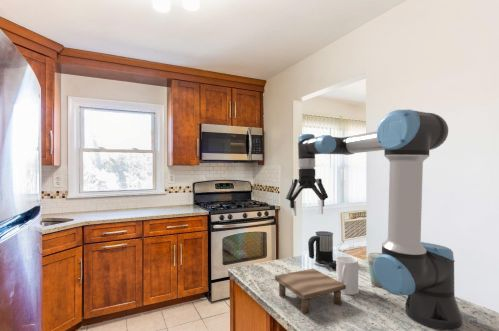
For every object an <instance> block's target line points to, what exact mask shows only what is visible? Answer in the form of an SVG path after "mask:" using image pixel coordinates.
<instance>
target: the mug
mask: <svg viewBox="0 0 499 331" xmlns="http://www.w3.org/2000/svg"><path fill="white" fill-rule="evenodd" d="M335 263H336V268H335V269H336V270H335V271H336V280H337V281H339V282H341V283H343V284H345V285H346V289H344V290H341V294H344V295H347V296H354V295H357V294H359V293H360V289H359V261H358V259H357V258H355V257H352V256H338V257H336V262H335Z"/></svg>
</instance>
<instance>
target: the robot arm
mask: <svg viewBox="0 0 499 331" xmlns="http://www.w3.org/2000/svg"><path fill="white" fill-rule="evenodd" d="M448 135H449V126H448V124H447V122H446V120H445V119H444V118H443V117H442V116H440V115H438V114H436V113H435V112H434V113H433V112H425V111H419V110H413V109H397V110H396V109H395V110H391V111H390V112H389V113H387V114H386V115H385V116H384V117H383V118H382V119H381V120H380V121H379V123H378V126H377V128H376V131H370V132H366V133H360V134H354V135H350V136H349V135H348V136H343V137H341V136H340V137H338V136H332V135H328V134H325V135H320V136H315V135H314V134H312V133H303V134H300V135H299V136H298V137H297V138H298V139H297V140H298V141H297V149H298V152H297V153H298V154H297V155H298V178H292V179H291V180H292V181H291V185H290V187H289V190H288V192H287V194H286V196H285V199H286V200H287V201H289V203H290V204H289V208H290V209H291V216H293V217H296V216H297V198H298V196H299V194H300V193H301V191H303V190H304V189H310V190H312V191H313V193H314V194H315V195H316V196H317V197H318V199H317V201H318V202H317V205H318V206H317V208H318V214H319V215H324V208H323V207H325V200H326V199H328V198H329V196H328V194H327V191H326V189H325V187H324V185H323V181H322V180H323V179H322V178H319V177H318V178H316V169H315V168H316V155H345V156H349V155H354V154H359V153H368V152H379V151H384V152H383V155H384V157H385V158H386V160H388V161H389V171H388V172H389V173H388V176H389V179H388V182H389V183H388V184H389V185H388V217H387V218H388V219H387V239H386V240H385V241H384V242H382V243H381V244H382V245H381V253H382V255H379V256H378V257H377V258H376V259H375V260H374V263H373V270H374V274H375V276H376V278H377V280H378V281H379V282H380V285H381V286H382V287H381V288H383V289H384V290H385V291H387V293H390V294H391V295H393V296H398V297H401V296H407V298H406V301H405V306H404V308H405V309H404V310H405V314H406V315H407V317H409V318H410V319H411V320H413V321H415V322H417V323H419V324H421V325H423V326H426V327H430V328H433V329H436V330H437V329H438V330H446V331H453V330H454V331H455V330H458V329H461V328H462V327H463V317H462V316H463V315H462V313H461V310H460V308H459V305H458V303H457V300H456V297H455V296H456V295H455V262H456V261H455V258H454V251H453V250H452V249H451V248H449V247H448V246H444V245H440V244H435V243H430V242H424V241H421V240H422V238H421V237H422V208H423V206H422V205H423V204H422V203H423V202H422V201H423V176H424V175H423V173H424V172H423V167H424V161H425V160H427V159H428V158H429V157H430V151H431V150H432V151H433V150H434V149H437V148H439V147H440V146H441V145H443V144H444V143H445V141H446V140H447V138H448ZM297 185H298V186H297ZM296 187H297V188H296ZM317 187H318V188H317Z"/></svg>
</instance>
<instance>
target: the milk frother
mask: <svg viewBox="0 0 499 331" xmlns="http://www.w3.org/2000/svg"><path fill="white" fill-rule="evenodd" d="M333 237H334V233H333V232H331V231H327V230H326V231H325V230H324V231H323V230H321V231H320V230H319V231H315V235H313V236H311V237H310V238H309V239H308V242H307V243H308V244H307V245H308V257H309V259H312V260H313V259H314V260H315V262H316V263H318V264H323V265H328V266H330V267H332V269H336V262H334V245H333V244H334V240H333Z"/></svg>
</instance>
